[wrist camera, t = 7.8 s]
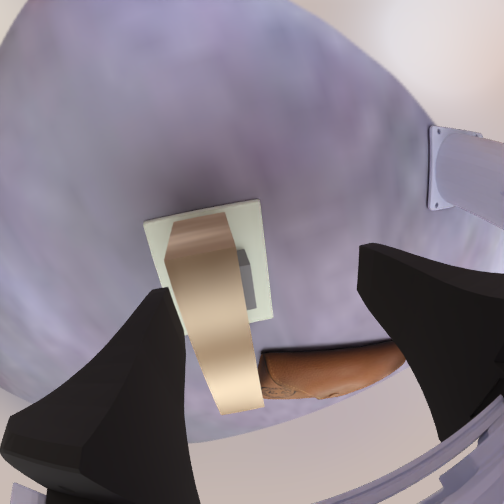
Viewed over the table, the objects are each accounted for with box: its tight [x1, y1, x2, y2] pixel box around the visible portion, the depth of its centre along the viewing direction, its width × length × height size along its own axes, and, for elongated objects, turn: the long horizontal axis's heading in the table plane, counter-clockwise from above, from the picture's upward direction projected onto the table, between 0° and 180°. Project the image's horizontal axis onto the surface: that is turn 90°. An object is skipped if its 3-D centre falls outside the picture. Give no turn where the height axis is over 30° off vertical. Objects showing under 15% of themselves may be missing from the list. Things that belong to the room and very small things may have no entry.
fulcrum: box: [143, 199, 273, 335], centre depth 19 cm, size 8×10×3 cm
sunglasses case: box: [258, 340, 406, 399], centre depth 27 cm, size 18×7×7 cm
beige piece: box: [164, 212, 264, 415], centre depth 16 cm, size 12×3×5 cm, turn 7°
